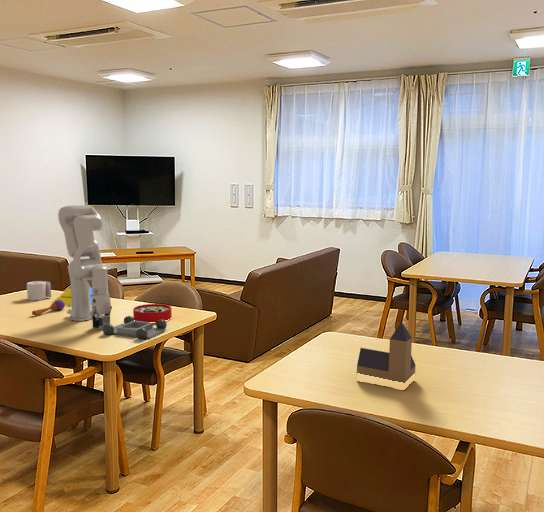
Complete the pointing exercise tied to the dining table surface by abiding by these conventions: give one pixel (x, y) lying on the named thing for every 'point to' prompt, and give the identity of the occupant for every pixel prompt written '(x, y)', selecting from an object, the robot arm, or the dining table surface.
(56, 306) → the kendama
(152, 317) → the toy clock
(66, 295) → the pyramid toy
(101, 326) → the engine block
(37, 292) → the toilet tissue
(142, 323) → the chassis bay
